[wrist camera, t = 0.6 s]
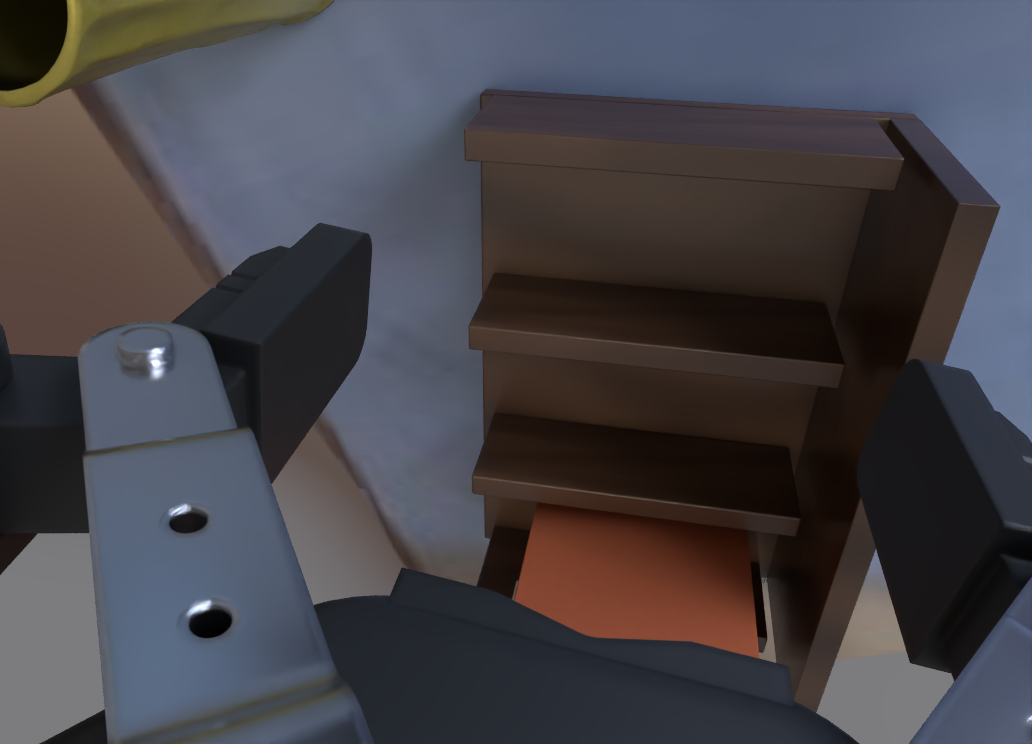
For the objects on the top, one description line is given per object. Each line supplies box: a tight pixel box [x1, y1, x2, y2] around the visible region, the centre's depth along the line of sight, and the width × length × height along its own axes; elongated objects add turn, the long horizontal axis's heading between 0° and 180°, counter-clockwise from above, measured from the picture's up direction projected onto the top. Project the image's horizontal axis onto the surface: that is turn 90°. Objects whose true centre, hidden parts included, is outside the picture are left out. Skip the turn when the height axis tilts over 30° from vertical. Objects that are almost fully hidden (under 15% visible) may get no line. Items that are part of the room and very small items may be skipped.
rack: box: [464, 89, 1000, 713], centre depth 30 cm, size 22×15×9 cm
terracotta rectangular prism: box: [512, 502, 759, 658], centre depth 32 cm, size 3×9×11 cm, turn 89°
